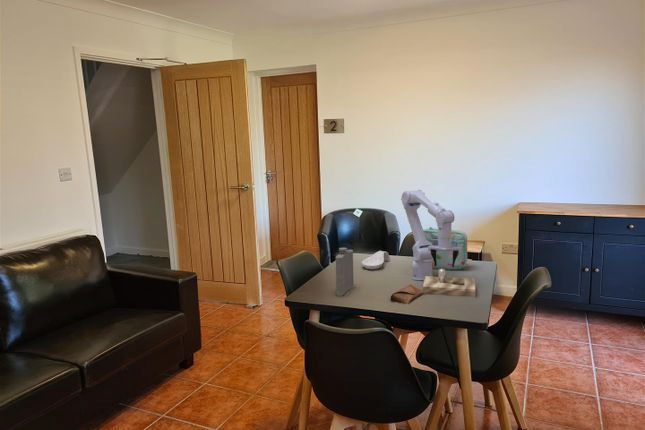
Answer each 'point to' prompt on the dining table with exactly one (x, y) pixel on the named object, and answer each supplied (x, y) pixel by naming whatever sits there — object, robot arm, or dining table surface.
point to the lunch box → (446, 257)
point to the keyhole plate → (449, 286)
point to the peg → (441, 275)
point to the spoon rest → (376, 260)
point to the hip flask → (344, 271)
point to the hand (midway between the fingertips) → (444, 266)
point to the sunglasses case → (406, 295)
